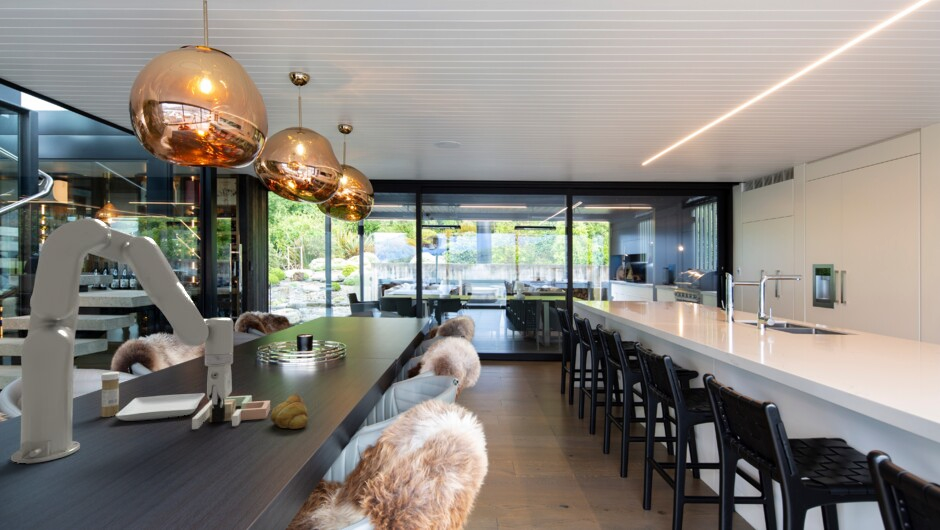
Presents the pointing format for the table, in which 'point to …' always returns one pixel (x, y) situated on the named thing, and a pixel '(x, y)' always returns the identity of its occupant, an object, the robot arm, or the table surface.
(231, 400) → the block
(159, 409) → the salad plate
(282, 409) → the bread roll
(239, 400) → the pastel wall shelf
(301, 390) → the table surface
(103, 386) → the sprinkles bottle
